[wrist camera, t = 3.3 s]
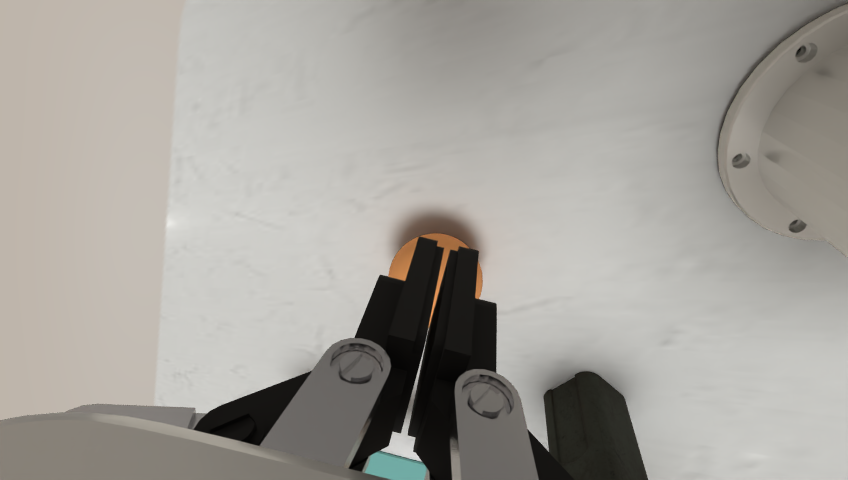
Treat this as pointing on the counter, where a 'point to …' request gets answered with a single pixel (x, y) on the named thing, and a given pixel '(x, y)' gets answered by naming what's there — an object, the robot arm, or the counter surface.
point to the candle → (592, 431)
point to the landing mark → (395, 467)
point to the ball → (447, 242)
